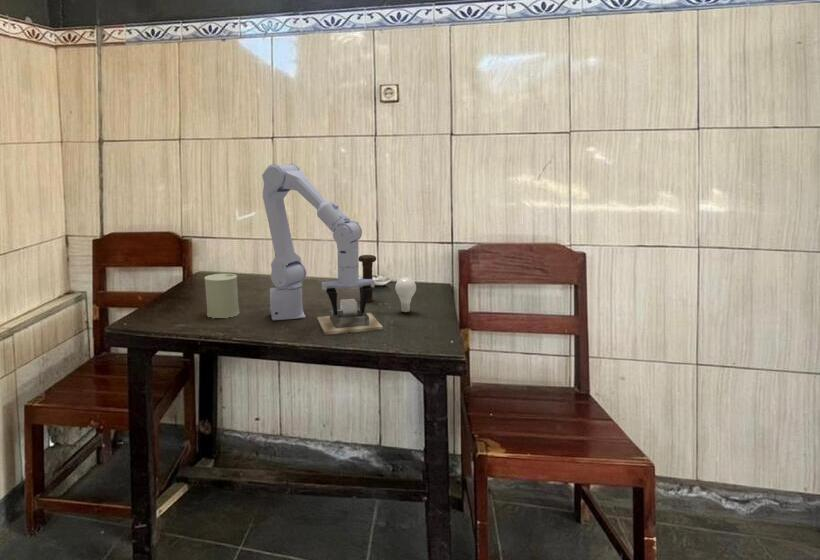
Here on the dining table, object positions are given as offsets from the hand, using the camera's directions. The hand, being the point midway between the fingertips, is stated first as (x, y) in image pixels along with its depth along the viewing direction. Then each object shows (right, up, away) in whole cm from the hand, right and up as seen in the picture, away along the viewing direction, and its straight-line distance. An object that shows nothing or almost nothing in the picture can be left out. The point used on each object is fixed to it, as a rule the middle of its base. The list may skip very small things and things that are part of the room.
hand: (348, 312), depth 152 cm
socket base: (0, -3, +1) cm, 3 cm away
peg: (0, -2, +1) cm, 3 cm away
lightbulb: (+16, -1, +13) cm, 21 cm away
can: (-39, -1, +9) cm, 40 cm away
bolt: (+3, +2, +25) cm, 26 cm away
